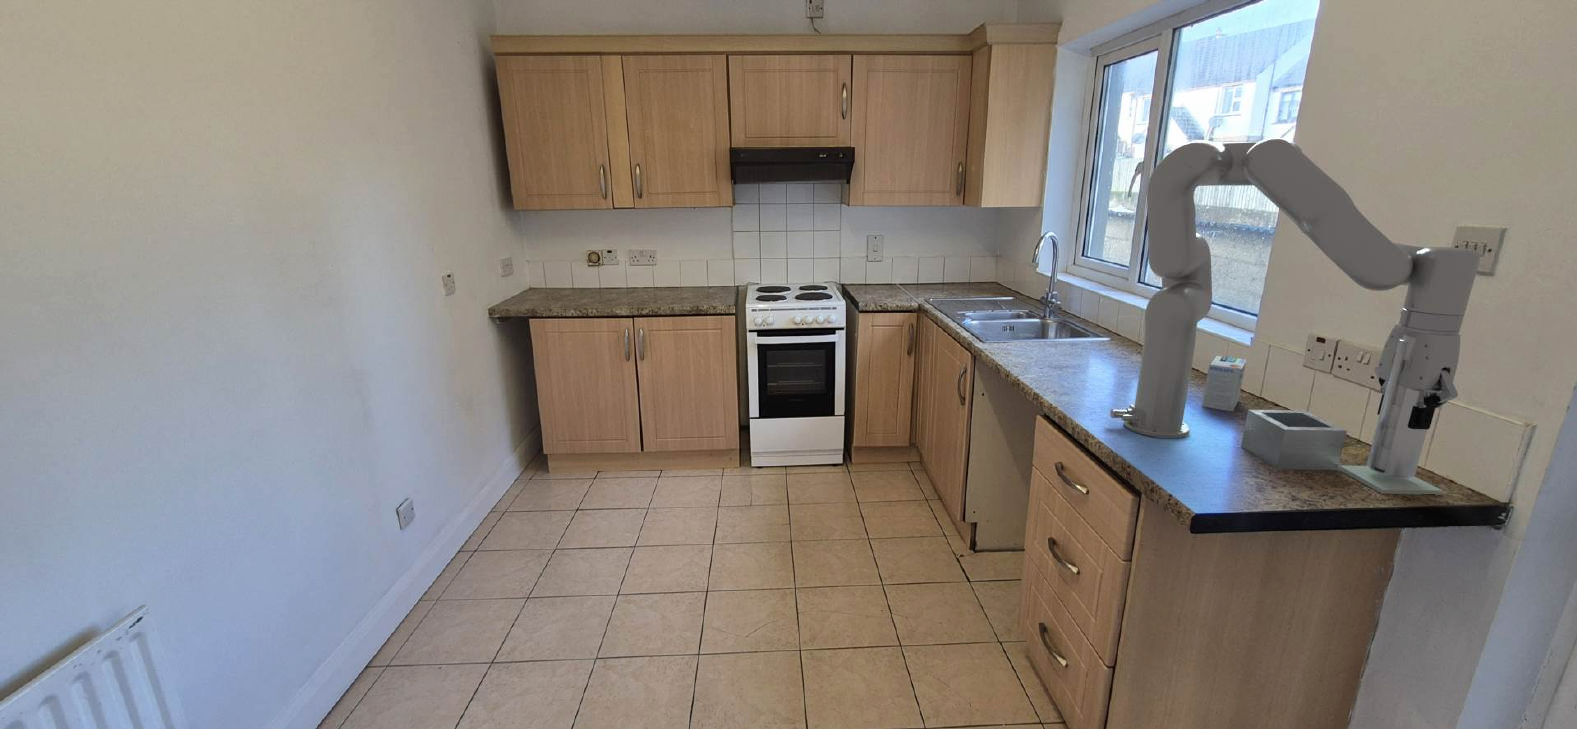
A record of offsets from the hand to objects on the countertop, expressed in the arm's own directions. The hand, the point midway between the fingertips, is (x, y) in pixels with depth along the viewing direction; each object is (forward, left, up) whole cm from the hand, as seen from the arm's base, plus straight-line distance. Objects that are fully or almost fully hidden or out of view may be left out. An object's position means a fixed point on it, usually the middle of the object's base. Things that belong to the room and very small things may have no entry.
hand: (1402, 421), depth 115 cm
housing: (-11, +10, -12) cm, 19 cm away
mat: (0, 0, -12) cm, 12 cm away
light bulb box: (-5, +43, -12) cm, 45 cm away
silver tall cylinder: (0, 0, -10) cm, 10 cm away
